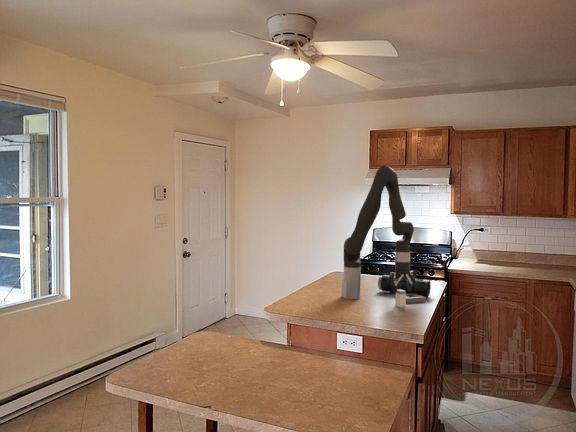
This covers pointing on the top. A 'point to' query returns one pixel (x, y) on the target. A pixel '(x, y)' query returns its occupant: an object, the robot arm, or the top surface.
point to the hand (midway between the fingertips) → (402, 291)
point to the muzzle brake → (405, 286)
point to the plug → (400, 298)
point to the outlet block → (414, 298)
